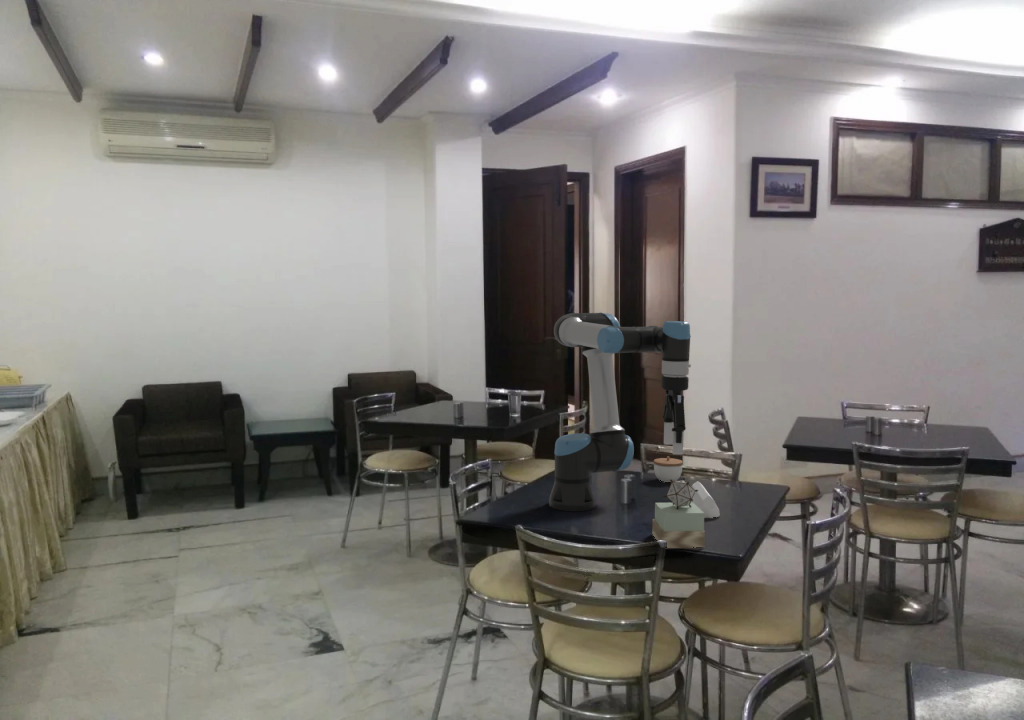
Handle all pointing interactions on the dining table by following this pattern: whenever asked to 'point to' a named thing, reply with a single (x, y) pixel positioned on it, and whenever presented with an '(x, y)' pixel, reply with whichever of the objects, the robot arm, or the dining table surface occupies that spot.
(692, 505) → the tower top block
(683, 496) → the game die
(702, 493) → the chamfered grey bar
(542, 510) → the dining table surface
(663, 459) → the lidded jar
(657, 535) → the tower base block
